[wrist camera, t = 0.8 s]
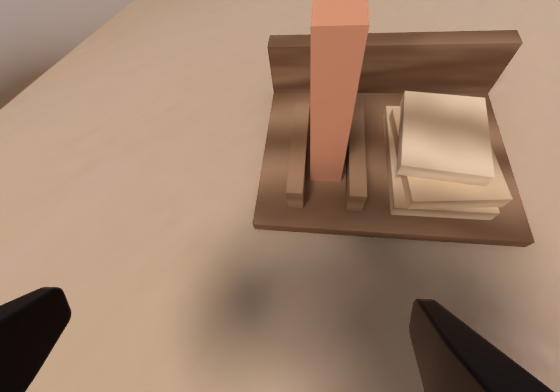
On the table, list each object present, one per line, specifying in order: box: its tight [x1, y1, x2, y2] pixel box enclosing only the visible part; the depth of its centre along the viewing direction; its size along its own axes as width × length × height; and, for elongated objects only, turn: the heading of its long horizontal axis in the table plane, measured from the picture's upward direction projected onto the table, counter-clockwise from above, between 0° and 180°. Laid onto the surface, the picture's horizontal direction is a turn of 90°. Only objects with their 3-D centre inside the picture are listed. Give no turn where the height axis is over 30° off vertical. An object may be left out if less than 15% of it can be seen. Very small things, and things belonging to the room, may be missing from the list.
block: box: [310, 0, 369, 181], centre depth 19 cm, size 4×2×13 cm
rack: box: [253, 30, 534, 247], centre depth 23 cm, size 16×20×6 cm
